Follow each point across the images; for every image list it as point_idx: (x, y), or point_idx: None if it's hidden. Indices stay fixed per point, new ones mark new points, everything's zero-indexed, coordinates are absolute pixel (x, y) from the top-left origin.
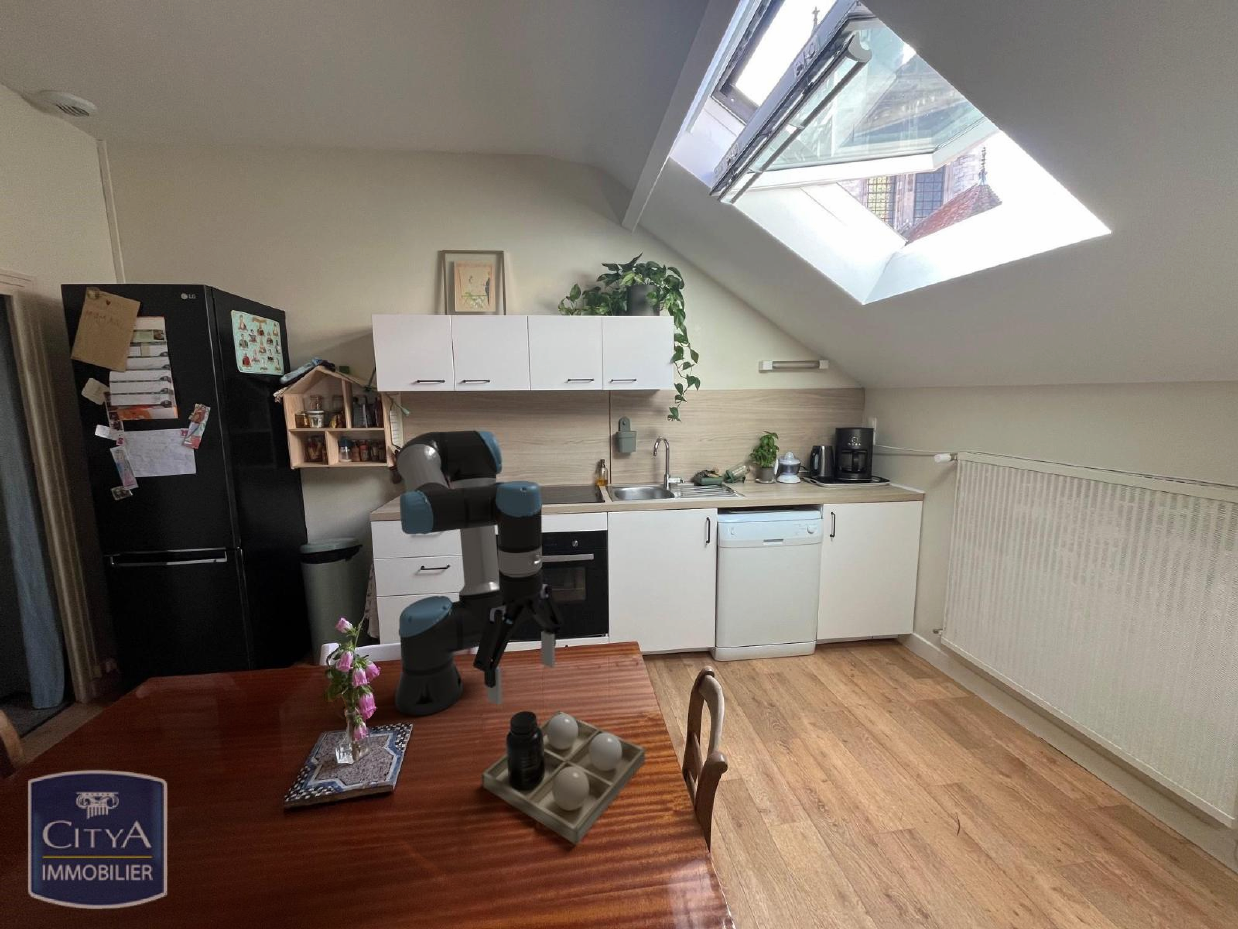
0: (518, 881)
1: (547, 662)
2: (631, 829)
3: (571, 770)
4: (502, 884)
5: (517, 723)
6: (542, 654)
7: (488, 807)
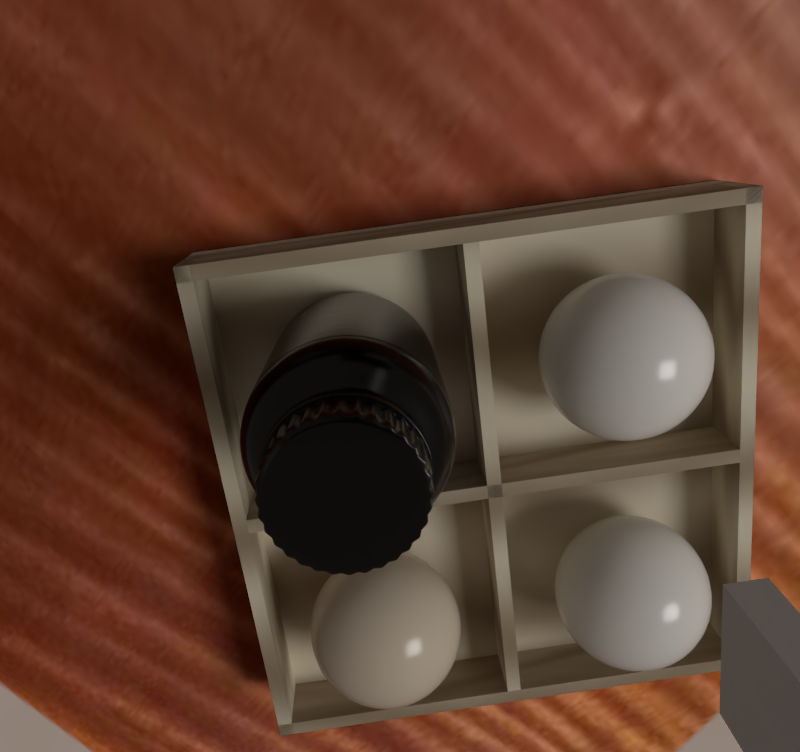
0: (95, 637)
1: (743, 687)
2: (456, 738)
3: (396, 680)
4: (52, 613)
5: (288, 504)
6: (791, 682)
7: (168, 343)
